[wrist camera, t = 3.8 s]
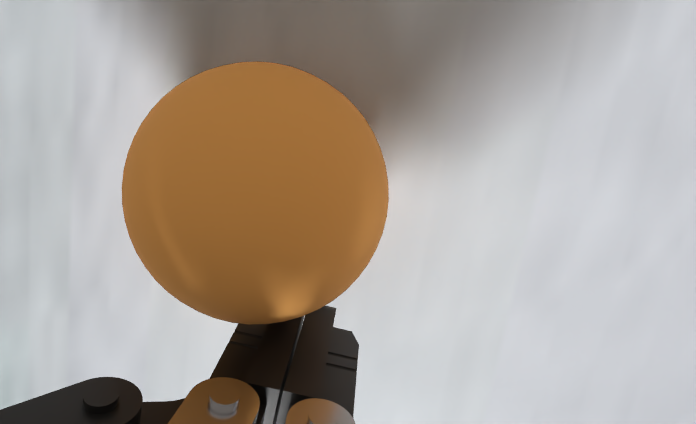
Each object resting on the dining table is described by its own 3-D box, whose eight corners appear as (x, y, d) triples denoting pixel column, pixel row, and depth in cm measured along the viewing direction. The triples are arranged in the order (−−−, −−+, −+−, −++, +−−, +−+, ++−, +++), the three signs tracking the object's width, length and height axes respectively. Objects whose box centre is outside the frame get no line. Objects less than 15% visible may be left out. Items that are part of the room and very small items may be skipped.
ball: (256, 337, 14) (186, 426, 8) (141, 172, 14) (-7, 148, 8) (422, 221, 13) (466, 231, 8) (306, 55, 13) (268, -50, 8)
